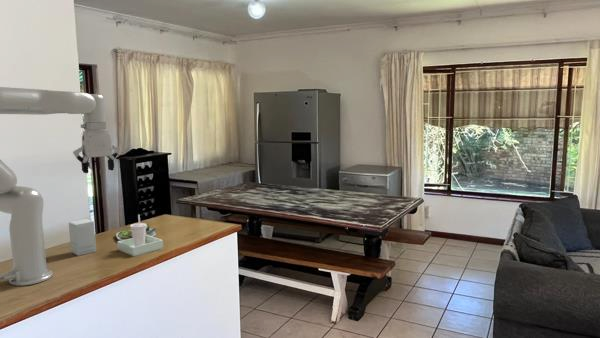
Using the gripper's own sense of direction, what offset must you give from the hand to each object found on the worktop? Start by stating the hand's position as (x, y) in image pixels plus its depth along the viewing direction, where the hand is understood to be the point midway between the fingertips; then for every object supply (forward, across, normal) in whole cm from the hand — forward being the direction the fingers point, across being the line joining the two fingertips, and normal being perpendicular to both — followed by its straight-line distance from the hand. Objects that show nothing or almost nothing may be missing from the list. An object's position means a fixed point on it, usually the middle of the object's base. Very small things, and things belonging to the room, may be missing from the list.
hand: (98, 171), depth 170 cm
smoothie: (+33, +12, -5) cm, 35 cm away
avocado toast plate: (+34, +21, +14) cm, 42 cm away
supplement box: (+34, -4, +10) cm, 35 cm away
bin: (+33, +13, -5) cm, 36 cm away
